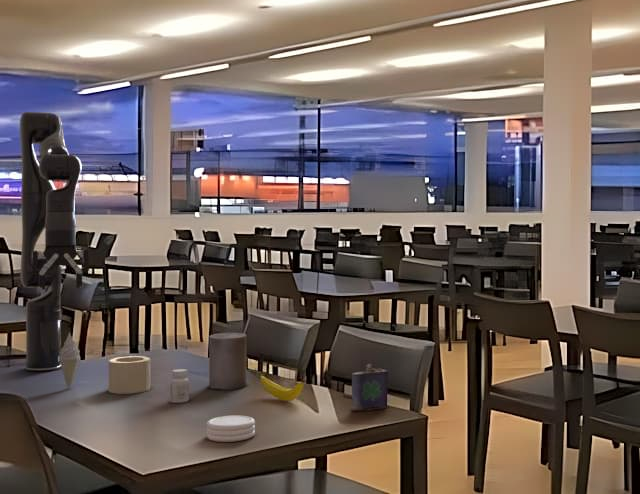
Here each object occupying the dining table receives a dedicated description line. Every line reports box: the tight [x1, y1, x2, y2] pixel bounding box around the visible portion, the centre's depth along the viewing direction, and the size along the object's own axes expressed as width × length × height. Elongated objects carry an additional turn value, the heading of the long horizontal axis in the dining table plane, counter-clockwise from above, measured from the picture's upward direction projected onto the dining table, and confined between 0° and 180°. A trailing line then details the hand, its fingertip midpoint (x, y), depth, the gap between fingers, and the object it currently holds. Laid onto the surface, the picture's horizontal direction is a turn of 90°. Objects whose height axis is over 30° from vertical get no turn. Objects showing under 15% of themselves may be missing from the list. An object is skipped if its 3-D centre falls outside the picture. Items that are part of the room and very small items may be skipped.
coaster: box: [206, 414, 256, 443], centre depth 203 cm, size 10×10×4 cm
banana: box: [259, 375, 306, 402], centre depth 239 cm, size 3×19×6 cm, turn 45°
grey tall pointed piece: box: [59, 332, 80, 390], centre depth 252 cm, size 5×5×15 cm
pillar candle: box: [208, 330, 247, 391], centre depth 256 cm, size 10×10×15 cm
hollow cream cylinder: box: [108, 355, 151, 395], centre depth 251 cm, size 10×10×8 cm
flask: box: [351, 363, 389, 412], centre depth 230 cm, size 9×3×11 cm, turn 121°
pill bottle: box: [169, 368, 190, 404], centre depth 237 cm, size 4×4×8 cm
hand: (60, 288), depth 257 cm, fingers open, 8 cm apart
